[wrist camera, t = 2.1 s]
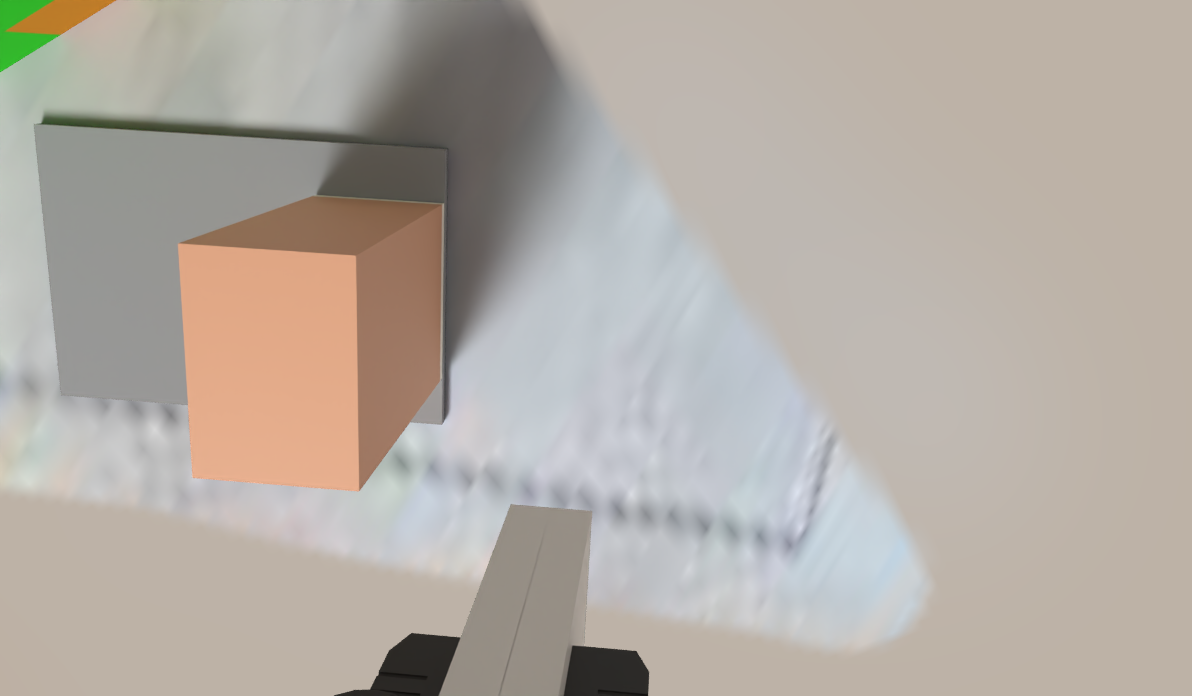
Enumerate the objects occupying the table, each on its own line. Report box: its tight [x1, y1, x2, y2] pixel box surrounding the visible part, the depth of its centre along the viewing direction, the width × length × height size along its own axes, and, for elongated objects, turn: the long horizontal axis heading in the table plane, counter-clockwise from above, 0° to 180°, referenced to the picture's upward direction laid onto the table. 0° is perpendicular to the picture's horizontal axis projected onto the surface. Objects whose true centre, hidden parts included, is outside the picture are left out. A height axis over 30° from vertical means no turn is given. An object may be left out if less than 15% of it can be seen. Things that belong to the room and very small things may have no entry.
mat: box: [34, 124, 448, 425], centre depth 39 cm, size 11×16×1 cm
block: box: [178, 195, 444, 491], centre depth 33 cm, size 7×5×11 cm
